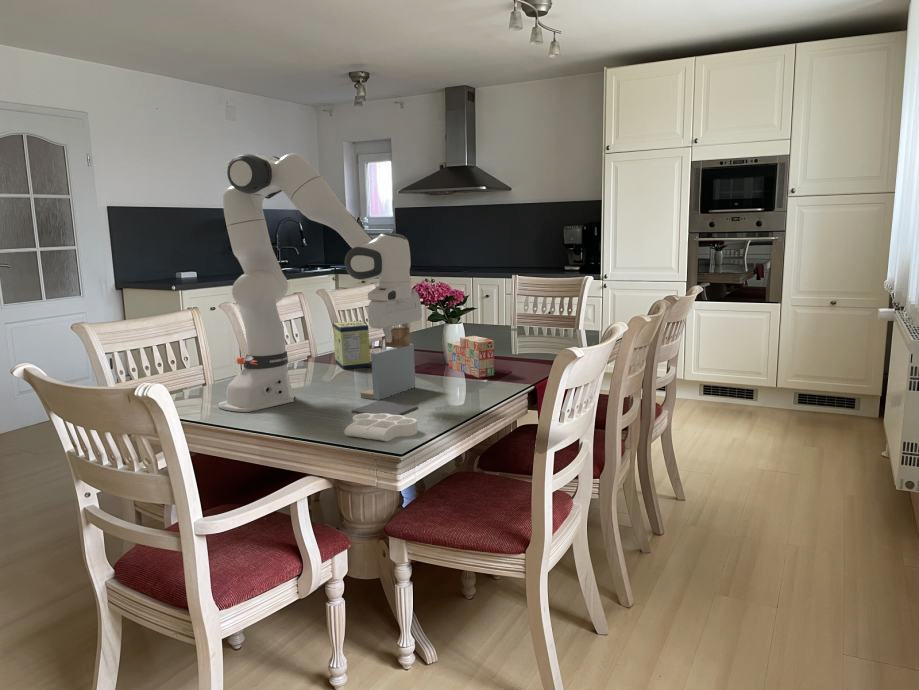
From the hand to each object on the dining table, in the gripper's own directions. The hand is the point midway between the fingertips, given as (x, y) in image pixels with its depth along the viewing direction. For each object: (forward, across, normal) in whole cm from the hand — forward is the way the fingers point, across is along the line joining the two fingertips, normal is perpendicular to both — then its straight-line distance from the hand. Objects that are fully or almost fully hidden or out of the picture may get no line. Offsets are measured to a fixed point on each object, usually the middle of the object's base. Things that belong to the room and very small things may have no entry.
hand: (397, 340), depth 190 cm
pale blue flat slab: (+19, -10, -12) cm, 24 cm away
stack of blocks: (+19, -47, -5) cm, 51 cm away
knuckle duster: (+19, +23, +12) cm, 33 cm away
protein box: (+19, -39, -52) cm, 68 cm away
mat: (+19, +7, 0) cm, 20 cm away
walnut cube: (+2, 0, 0) cm, 2 cm away
